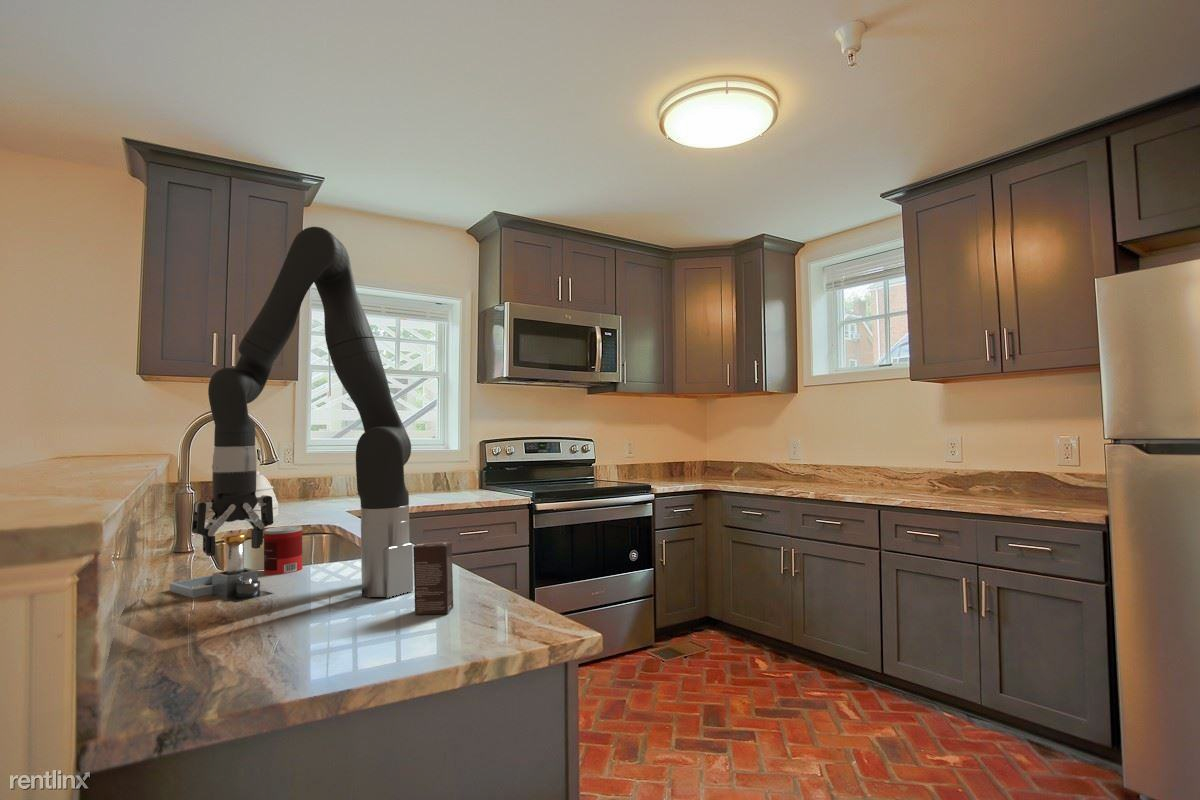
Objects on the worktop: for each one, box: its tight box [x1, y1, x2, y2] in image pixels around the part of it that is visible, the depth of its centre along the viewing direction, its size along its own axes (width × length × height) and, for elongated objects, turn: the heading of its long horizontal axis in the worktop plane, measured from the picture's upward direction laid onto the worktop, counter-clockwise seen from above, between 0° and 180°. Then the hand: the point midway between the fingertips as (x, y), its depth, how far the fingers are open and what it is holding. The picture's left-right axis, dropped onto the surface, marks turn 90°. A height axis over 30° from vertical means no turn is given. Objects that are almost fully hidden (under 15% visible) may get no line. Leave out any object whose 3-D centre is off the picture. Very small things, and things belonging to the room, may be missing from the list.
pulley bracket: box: [208, 567, 274, 603], centre depth 122 cm, size 11×7×6 cm, turn 55°
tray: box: [169, 574, 213, 599], centre depth 126 cm, size 10×8×3 cm
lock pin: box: [223, 533, 247, 575], centre depth 123 cm, size 4×4×11 cm
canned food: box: [263, 525, 303, 576], centre depth 142 cm, size 8×8×11 cm
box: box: [413, 541, 454, 616], centre depth 112 cm, size 6×4×12 cm
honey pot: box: [253, 470, 280, 518], centre depth 247 cm, size 13×13×18 cm
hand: (233, 551), depth 123 cm, fingers open, 8 cm apart
